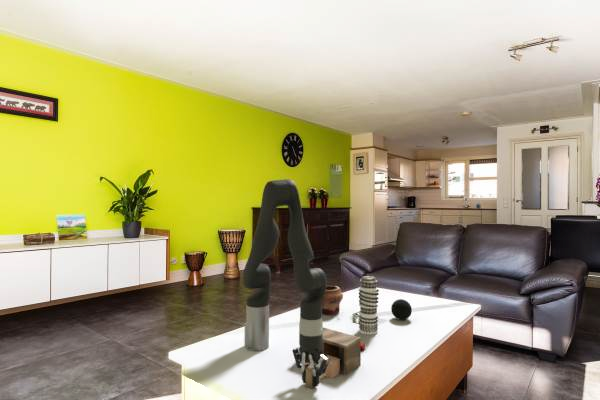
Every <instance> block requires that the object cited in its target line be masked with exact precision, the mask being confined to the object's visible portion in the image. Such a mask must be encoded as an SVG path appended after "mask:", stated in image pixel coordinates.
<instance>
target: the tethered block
mask: <svg viewBox="0 0 600 400" xmlns="http://www.w3.org/2000/svg"><path fill="white" fill-rule="evenodd" d="M325 357H326V358H327V357H329V358H330V361H329V363H328V366H327V368H326V371H325V373H324V374H322V375H321V376H319V380H320V379H323V378H325V377H326V378H329V379H333V378H334V377H336V376H338V374H340V361H341V360H340V359H339V358H336V357H333V356H330V355H326V356H325ZM320 366H321V359H320ZM312 378H313V371H312V368H311V364H309V365H308V366H306V383H305V388H307V389H312V390H313V389H315V388H316V387H313V386H312Z"/></svg>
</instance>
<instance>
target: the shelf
mask: <svg viewBox="0 0 600 400" xmlns="http://www.w3.org/2000/svg"><path fill="white" fill-rule="evenodd" d="M361 339H362V337H360V336H356V335H353V334H348V333H345V332H342V331H337V330H334V329H330V328H327V327H323V338H322V352H323V355H324V356H326V355H330V356H333V357H336V358H339V359H340V360H339V361H343V375H345V376H347V375H349V374H350V373H351V372H353V371H354V370H356V369H357V368H358V367H360V366H361V361H362V360H361V356H362V355H361V353H362V351H361V342H362V340H361Z"/></svg>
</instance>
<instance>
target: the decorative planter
mask: <svg viewBox="0 0 600 400" xmlns="http://www.w3.org/2000/svg"><path fill="white" fill-rule="evenodd" d="M343 298H344V294H343V293H342V290H341V288H340V287H339V286H337V285H326V290H325V294H324V299H323V302H322V315H327V316H335V315H337V314H339V313H340V304H341V302H342V300H343Z"/></svg>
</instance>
